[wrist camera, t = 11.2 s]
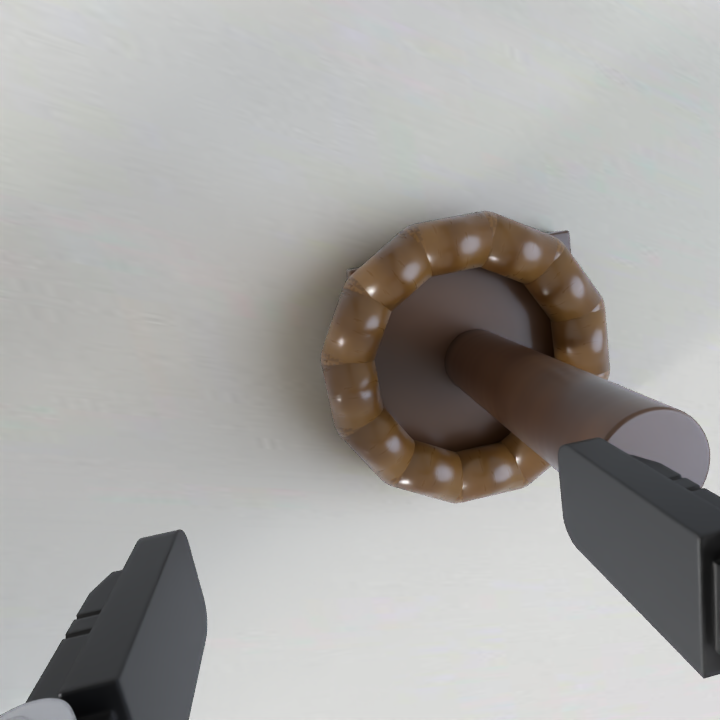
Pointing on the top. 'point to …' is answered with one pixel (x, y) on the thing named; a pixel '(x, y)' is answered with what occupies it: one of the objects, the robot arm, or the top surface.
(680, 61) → the top surface
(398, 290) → the ring
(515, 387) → the peg on square base
